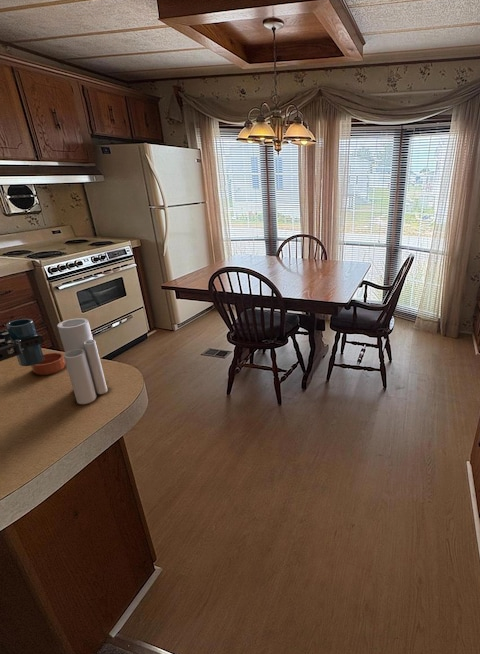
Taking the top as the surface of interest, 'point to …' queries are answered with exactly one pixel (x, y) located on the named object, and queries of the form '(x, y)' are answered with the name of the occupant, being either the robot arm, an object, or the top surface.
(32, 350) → the cup
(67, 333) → the vase
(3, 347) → the robot arm
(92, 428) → the top surface
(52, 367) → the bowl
